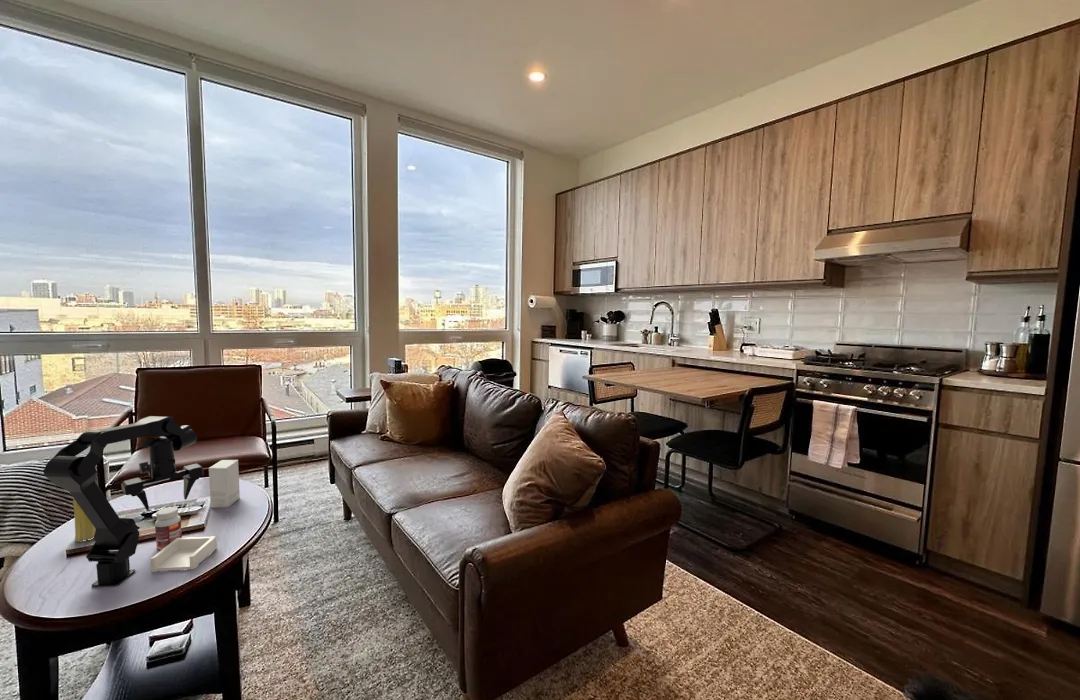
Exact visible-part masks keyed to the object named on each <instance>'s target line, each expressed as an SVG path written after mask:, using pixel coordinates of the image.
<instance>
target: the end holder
mask: <svg viewBox="0 0 1080 700" xmlns="http://www.w3.org/2000/svg"><path fill="white" fill-rule="evenodd" d="M217 545H218V542H217V536H215V535H212V536H195V537H194V536H193V537H189V536H188V537H182V538H176V539H175V540H174V541H172V542H171V543H170V544H169V545H167V546H166V547H165V548H163V549H162V550H161V549H160V551H158V552H157V553H156V554H154V555H152V557H150V559H149V560H150V572H151V573H152V572H153V573H158V572H157V571H161V572H169V571H168V570H180V571H187V570H186V569H194V568H195V567H196V566H197V565H198V564H199V563H200V562H202V561H203V560H204V559H205V558H206V557H207V556H208V555H209V554H210V553H211V552H212V551H214V550H215V549H216V548H218V546H217ZM216 550H217V549H216ZM216 550H215V551H216ZM215 551H214V552H215ZM211 554H212V553H211ZM211 554H210V555H211ZM210 555H209V556H210ZM209 556H208V557H209ZM208 557H207V558H208ZM207 558H206V559H207ZM206 559H205V560H206ZM205 560H204V561H205ZM204 561H203V562H204ZM203 562H202V563H203ZM196 568H197V567H196ZM196 568H195V569H196ZM184 569H185V570H184ZM195 569H194V570H195Z"/></svg>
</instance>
